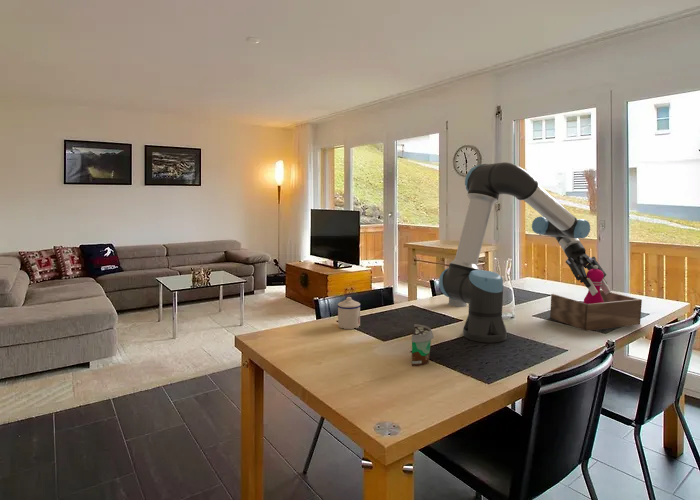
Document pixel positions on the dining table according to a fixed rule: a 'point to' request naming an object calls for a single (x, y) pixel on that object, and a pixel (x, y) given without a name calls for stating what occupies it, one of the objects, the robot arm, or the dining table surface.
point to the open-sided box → (597, 311)
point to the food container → (421, 345)
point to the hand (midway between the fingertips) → (601, 293)
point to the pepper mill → (596, 279)
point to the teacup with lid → (349, 314)
